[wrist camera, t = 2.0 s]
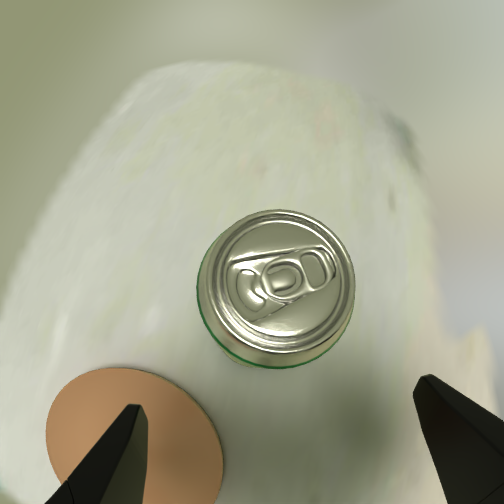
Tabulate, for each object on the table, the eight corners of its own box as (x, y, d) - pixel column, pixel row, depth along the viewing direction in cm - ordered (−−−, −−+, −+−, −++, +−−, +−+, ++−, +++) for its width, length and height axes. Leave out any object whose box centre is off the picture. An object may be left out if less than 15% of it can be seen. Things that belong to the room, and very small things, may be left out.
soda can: (205, 304, 20) (172, 223, 9) (278, 280, 21) (327, 181, 10) (230, 377, 19) (225, 395, 8) (305, 351, 20) (392, 328, 8)
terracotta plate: (253, 500, 16) (254, 510, 14) (102, 533, 13) (95, 542, 12) (177, 343, 19) (172, 341, 18) (35, 392, 17) (23, 392, 16)
